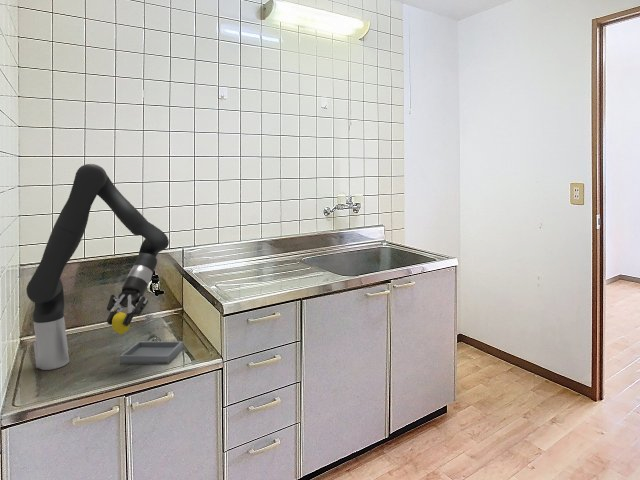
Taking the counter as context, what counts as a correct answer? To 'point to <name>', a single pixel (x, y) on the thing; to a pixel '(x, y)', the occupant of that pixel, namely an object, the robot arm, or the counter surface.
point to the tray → (152, 352)
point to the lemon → (119, 323)
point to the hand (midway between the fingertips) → (117, 324)
